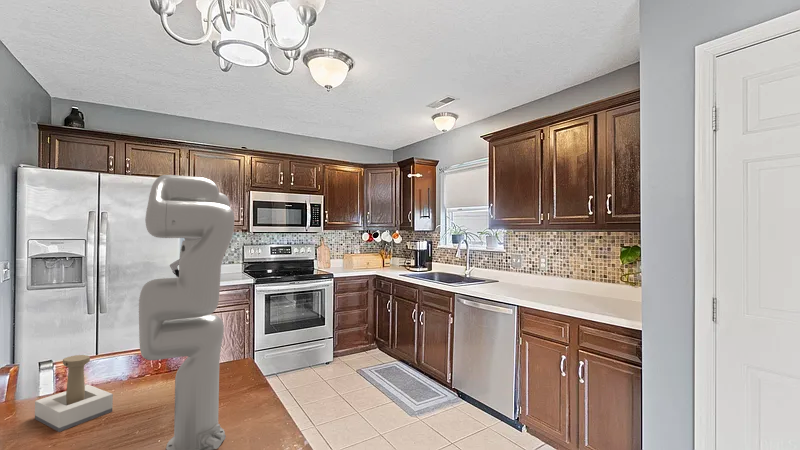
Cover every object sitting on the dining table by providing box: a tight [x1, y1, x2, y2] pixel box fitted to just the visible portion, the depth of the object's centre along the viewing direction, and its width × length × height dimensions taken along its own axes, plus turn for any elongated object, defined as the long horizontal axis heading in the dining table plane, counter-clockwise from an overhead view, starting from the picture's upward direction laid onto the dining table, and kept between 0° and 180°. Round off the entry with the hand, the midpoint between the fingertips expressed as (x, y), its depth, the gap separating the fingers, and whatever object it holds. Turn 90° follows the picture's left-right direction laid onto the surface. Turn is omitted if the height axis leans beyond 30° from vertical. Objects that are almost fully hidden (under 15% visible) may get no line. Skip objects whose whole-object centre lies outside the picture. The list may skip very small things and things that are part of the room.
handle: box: [62, 354, 91, 405], centre depth 103 cm, size 5×6×15 cm
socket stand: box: [34, 383, 114, 433], centre depth 103 cm, size 14×12×5 cm
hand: (196, 287), depth 121 cm, fingers open, 9 cm apart
